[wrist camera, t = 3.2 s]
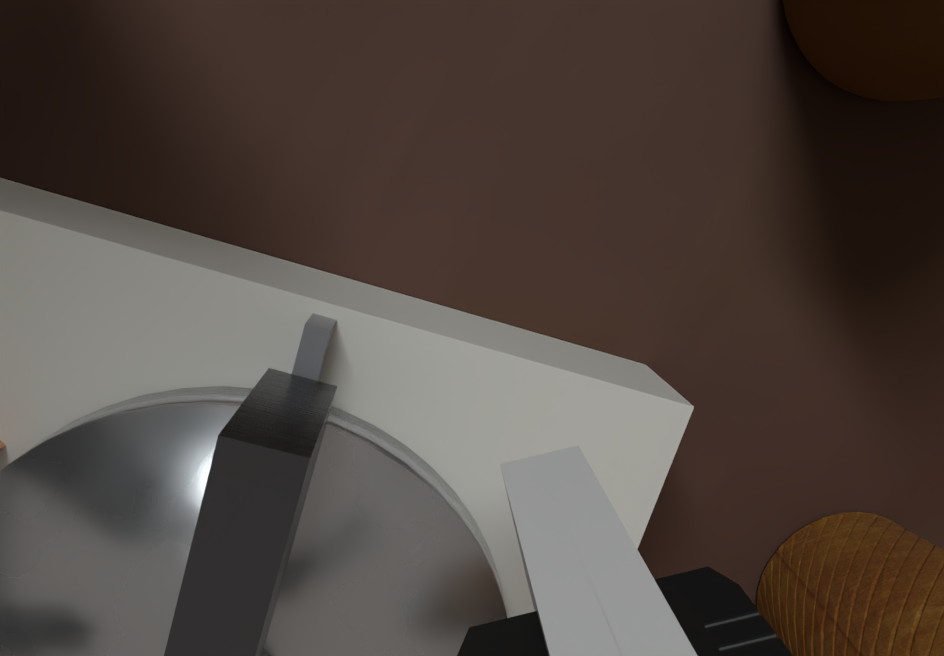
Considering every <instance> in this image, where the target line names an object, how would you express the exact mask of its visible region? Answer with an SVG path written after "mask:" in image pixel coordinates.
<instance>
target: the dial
mask: <svg viewBox="0 0 944 656" xmlns="http://www.w3.org/2000/svg"><path fill="white" fill-rule="evenodd" d="M336 389H337V386H335V385H331V384H327V383H323V382H320V381H316V380H312V379H308V378H305V377H301V376H297V375H293V374H290V373H286V372H282V371H278V370H275V369H271V368H268V370H267V371H266V372H265V374H264V375H263V376H262V378H261V379H260V380H259V382H258V383H257V384H256V386H255V387H254V388H243V387H230V386H213V387H192V388H180V389H174V390H168V391H162V392H157V393H151V394H145V395H141V396H138V397H135V398H131V399H128V400H125V401H122V402H118V403H115V404H112V405H108V406H105V407H103V408H101V409H99V410H97V411H94V412H92V413H90V414H88V415H86V416H83V417H81V418H79V419H77V420H75V421H72V422H70V423H69V424H67V425H66V426H64V427H62V428H61V429H59V430H58V431H56V432H55V433H53V434H51V435H50V436H48V437H47V438H45V439H43V440H42V441H40V442H39V443H37V444H36V445H34V446H33V447H32V448H30V449H29V450H28V451H26V452H25V453H23V454H22V455H21V456H19V457H18V458H16V459H15V460H14V461H12V462H11V463H10V464H8V465H7V466H5V467H4V468H3V469H2V470H1V471H0V656H457V654H458V652H459V650H460V648H461V645H462V643H463V641H464V638H465V636H466V634H467V631H468V629H469V627H473V626H477V625H481V624H485V623H489V622H493V621H497V620H501V619H505V618H507V614H506V609H505V604H504V599H503V594H502V588H501V583H500V579H499V576H498V573H497V570H496V567H495V564H494V561H493V558H492V554H491V551H490V549H489V547H488V545H487V543H486V541H485V539H484V537H483V535H482V533H481V531H480V529H479V527H478V525H477V523H476V521H475V520H474V518H473V517H472V515H471V514H470V512H469V511H468V509H467V508H466V506H465V505H464V504H463V502H462V501H461V499H460V498H459V496H458V495H457V493H456V492H455V491H454V490H453V489H452V488H451V487H450V486H449V485H448V484H447V483H446V481H445V480H444V479H443V478H442V477H441V476H440V475H439V474H438V473H437V472H436V471H435V469H434V468H433V467H431V466H430V465H429V464H428V463H427V462H425V461H424V460H423V459H422V458H421V457H419V456H418V455H417V454H416V453H415V452H413V451H412V450H411V449H410V448H409V447H407V446H406V445H405V444H403V443H402V442H400V441H398V440H397V439H395V438H394V437H392V436H391V435H389V434H387V433H386V432H384V431H383V430H381V429H380V428H378V427H376V426H375V425H373V424H371V423H369V422H367V421H364V420H362V419H360V418H358V417H356V416H354V415H352V414H350V413H347V412H345V411H343V410H341V409H339V408H335V407H332V403H333V400H334V396H335V393H336Z"/></svg>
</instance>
